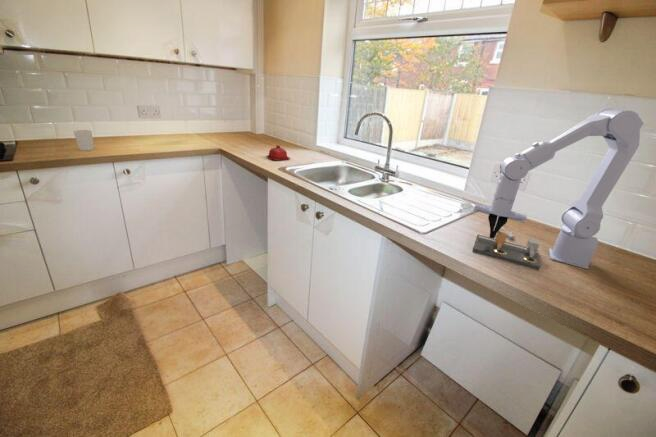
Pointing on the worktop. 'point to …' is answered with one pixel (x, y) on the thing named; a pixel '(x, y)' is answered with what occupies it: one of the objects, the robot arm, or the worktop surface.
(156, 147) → the worktop surface
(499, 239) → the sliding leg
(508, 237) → the adjustable wrench
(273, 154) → the butter dish
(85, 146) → the white cup
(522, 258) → the hole plate
